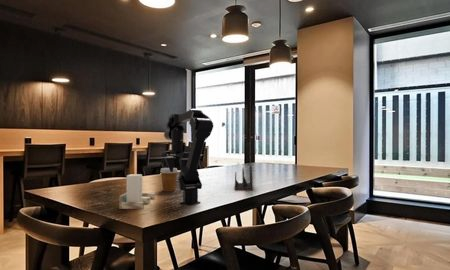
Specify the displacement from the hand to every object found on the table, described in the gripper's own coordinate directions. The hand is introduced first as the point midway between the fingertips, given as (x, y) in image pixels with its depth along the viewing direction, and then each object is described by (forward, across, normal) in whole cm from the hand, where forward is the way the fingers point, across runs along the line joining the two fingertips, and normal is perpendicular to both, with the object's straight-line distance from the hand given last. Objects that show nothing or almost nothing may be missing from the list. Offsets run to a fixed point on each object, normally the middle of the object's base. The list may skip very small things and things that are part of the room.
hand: (177, 172), depth 141 cm
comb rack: (+12, +2, +19) cm, 23 cm away
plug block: (+12, -2, +23) cm, 26 cm away
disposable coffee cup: (+12, +20, -9) cm, 25 cm away
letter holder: (+12, -2, -46) cm, 48 cm away
